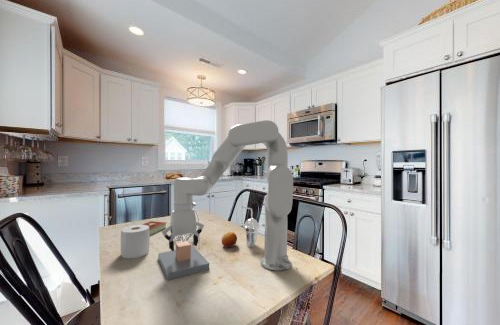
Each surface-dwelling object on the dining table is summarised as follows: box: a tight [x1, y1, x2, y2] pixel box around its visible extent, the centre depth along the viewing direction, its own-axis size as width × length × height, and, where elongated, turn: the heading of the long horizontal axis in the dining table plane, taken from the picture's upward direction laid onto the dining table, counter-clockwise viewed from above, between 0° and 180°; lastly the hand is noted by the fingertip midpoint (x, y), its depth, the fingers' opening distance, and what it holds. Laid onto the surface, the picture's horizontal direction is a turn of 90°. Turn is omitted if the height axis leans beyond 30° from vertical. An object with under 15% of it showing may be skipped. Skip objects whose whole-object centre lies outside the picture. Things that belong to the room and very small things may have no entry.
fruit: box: [221, 231, 238, 248], centre depth 113 cm, size 8×8×8 cm
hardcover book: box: [141, 220, 167, 236], centre depth 133 cm, size 12×21×4 cm, turn 165°
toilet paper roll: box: [120, 224, 151, 259], centre depth 103 cm, size 12×12×12 cm
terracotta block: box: [175, 240, 192, 262], centre depth 93 cm, size 5×5×6 cm
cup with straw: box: [241, 206, 261, 248], centre depth 114 cm, size 8×9×20 cm
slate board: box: [157, 246, 210, 281], centre depth 93 cm, size 20×16×2 cm
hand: (184, 247), depth 93 cm, fingers open, 9 cm apart
